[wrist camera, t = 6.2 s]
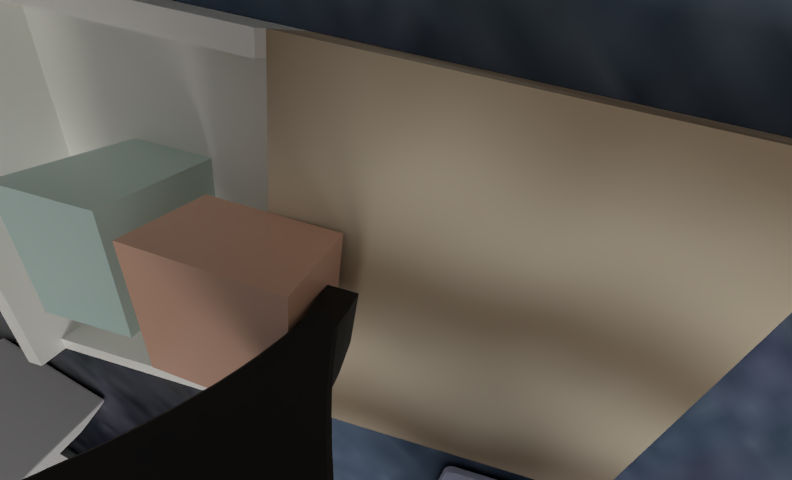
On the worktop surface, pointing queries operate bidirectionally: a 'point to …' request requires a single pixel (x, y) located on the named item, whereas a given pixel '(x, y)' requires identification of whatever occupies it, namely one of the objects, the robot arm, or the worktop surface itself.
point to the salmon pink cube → (222, 283)
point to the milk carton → (37, 413)
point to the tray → (125, 120)
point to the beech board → (526, 251)
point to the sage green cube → (94, 222)
